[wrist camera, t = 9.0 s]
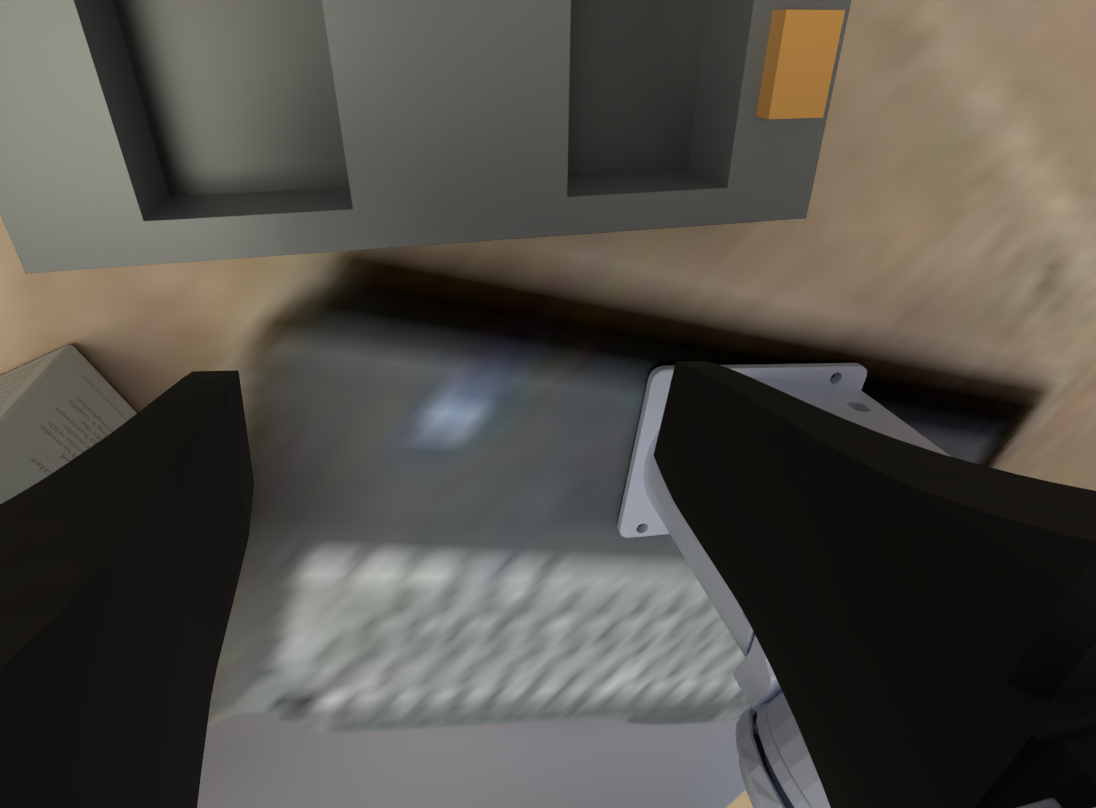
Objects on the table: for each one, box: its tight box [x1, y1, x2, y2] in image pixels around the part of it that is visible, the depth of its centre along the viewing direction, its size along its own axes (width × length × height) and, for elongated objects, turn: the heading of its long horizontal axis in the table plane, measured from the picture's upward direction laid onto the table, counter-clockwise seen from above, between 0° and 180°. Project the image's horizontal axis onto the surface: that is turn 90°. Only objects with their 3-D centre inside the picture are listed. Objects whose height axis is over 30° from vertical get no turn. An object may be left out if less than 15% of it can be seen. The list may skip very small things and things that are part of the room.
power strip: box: [0, 0, 851, 273], centre depth 16 cm, size 20×8×4 cm, turn 90°
